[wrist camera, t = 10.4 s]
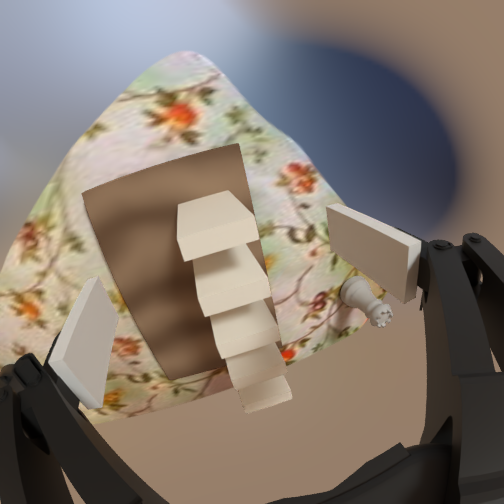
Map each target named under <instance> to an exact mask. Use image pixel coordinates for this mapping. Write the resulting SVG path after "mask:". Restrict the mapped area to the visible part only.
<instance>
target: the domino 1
mask: <svg viewBox="0 0 504 504" xmlns="http://www.w3.org/2000/svg"><path fill="white" fill-rule="evenodd" d="M256 240H259V234H258V230H257V225H256V220H255V216H254V215H253V214H252V213H251V212H250V211H249V210H248V209H247V208H246V207H245V206H244V205H243V204H242V203H241V202H240V201H239V200H238V199H237V198H236V197H235V196H234V195H233V194H232V193H231V192H230V191H229V190H227V191H223V192H220V193H216V194H212V195H209V196H205V197H202V198H198V199H195V200H192V201H188V202H185V203H182V204H178V216H177V241H178V244H179V247H180V250H181V253H182V256H183V259H184V262H185V261H189V260H192V259H195V258H199V257H202V256H205V255H209V254H212V253H215V252H219V251H222V250H225V249H229V248H232V247H235V246H239V245H242V244H246V243H249V242H252V241H256Z"/></svg>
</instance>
